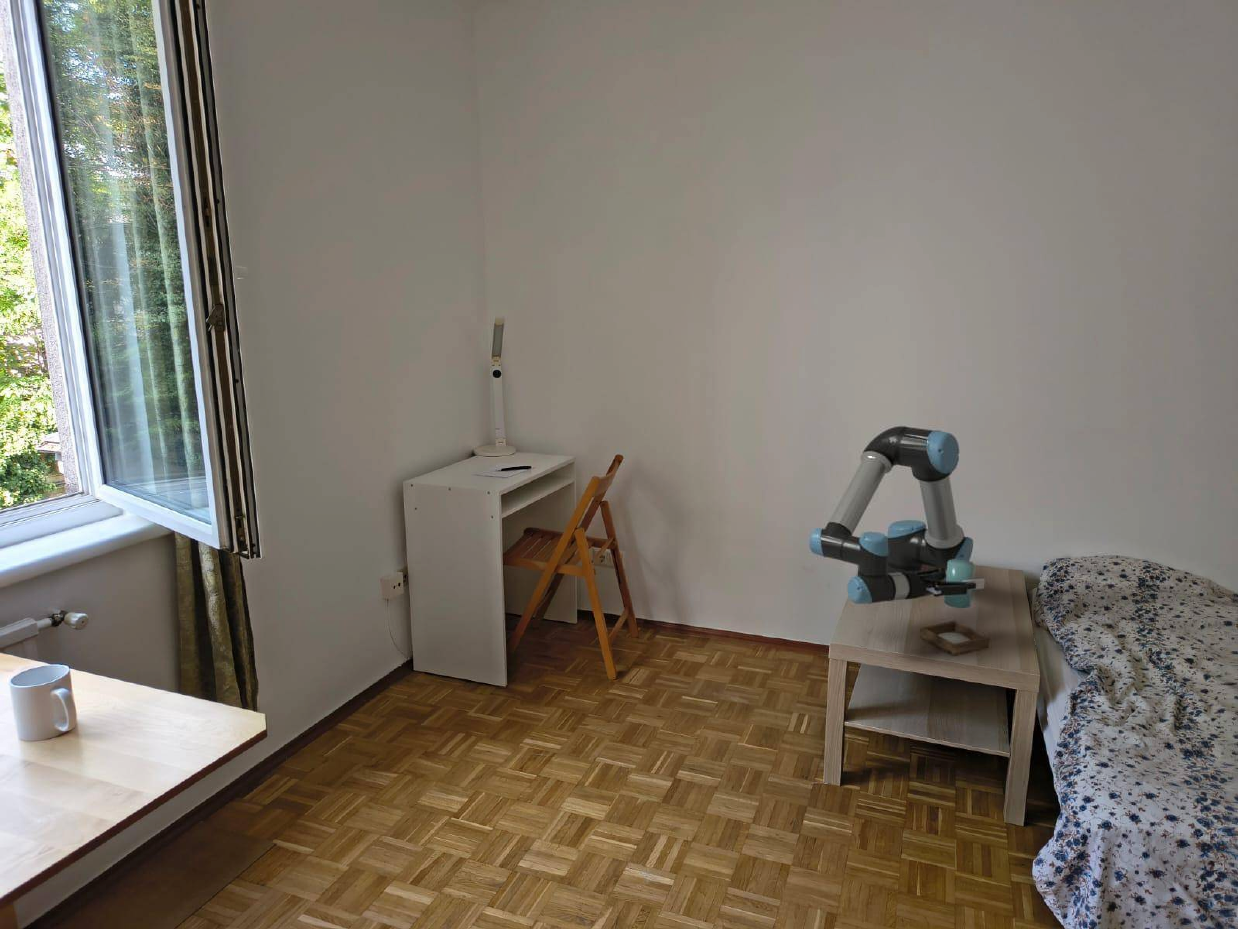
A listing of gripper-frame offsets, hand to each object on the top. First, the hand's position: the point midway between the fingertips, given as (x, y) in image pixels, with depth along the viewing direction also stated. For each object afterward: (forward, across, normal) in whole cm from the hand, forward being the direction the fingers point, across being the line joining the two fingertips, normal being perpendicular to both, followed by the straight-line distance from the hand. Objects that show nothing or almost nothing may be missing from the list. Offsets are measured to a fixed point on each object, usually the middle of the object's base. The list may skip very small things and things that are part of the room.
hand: (974, 578), depth 241 cm
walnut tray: (-5, 0, -19) cm, 20 cm away
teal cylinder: (-5, 0, -7) cm, 9 cm away
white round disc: (-5, 0, -19) cm, 20 cm away
